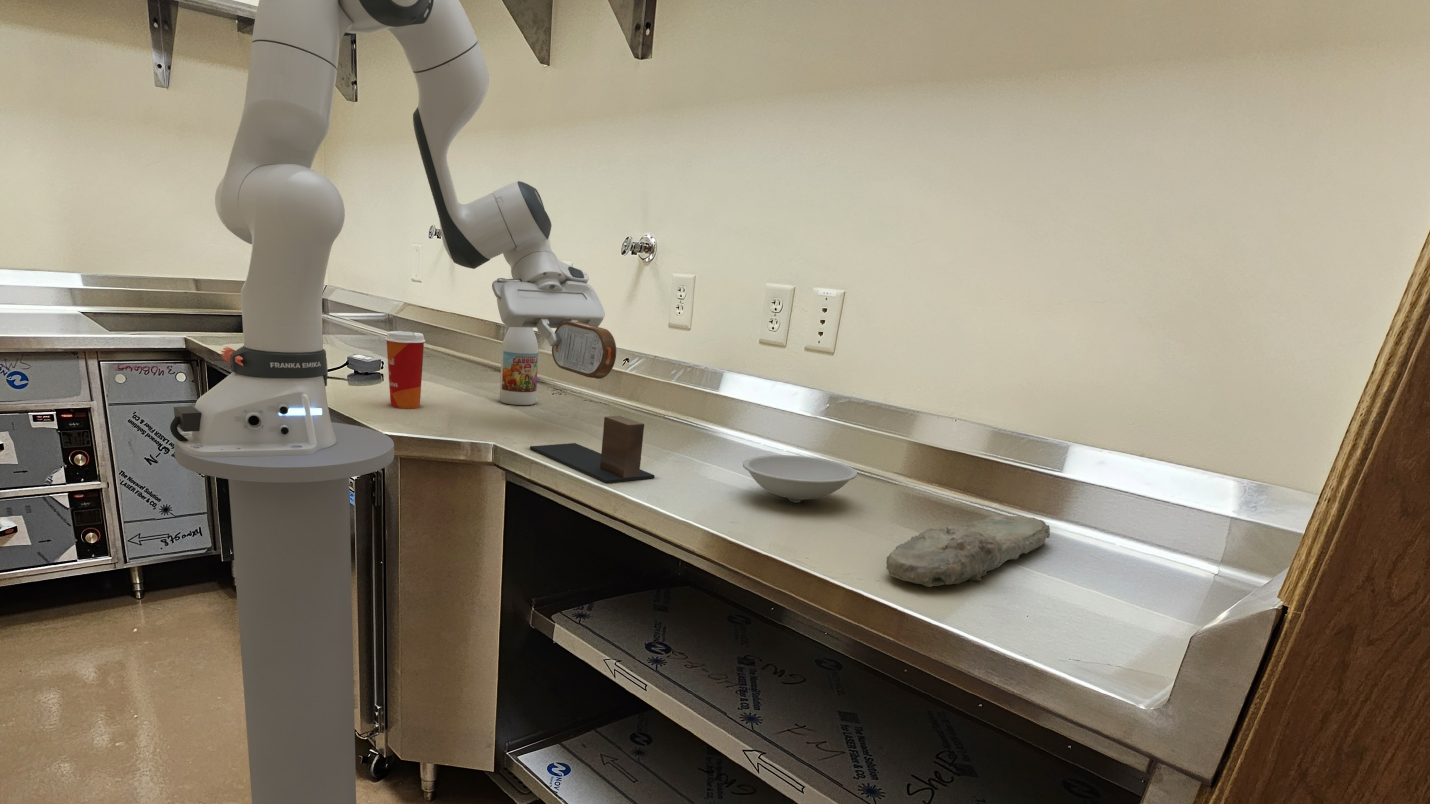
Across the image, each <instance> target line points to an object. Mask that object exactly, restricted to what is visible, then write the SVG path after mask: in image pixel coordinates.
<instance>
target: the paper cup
mask: <svg viewBox="0 0 1430 804" xmlns="http://www.w3.org/2000/svg"><path fill="white" fill-rule="evenodd" d="M384 340H385V341H386V355H387V373H388V389H389V399H390V400H389V401H390V406H391V407H392V408H397V409H409V410H410V409H417V408H419V407H420V405H421V395H422V394H421V392H422V379H423V366H424V365H423V364H424V363H423V362H424V350H425V349H424V348H425V347H424V346H425V343H426V339H425V337H424V334H423V333H421V332H413V331H404V330H393V331H387V332H386V337H384Z"/></svg>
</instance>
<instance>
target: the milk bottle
mask: <svg viewBox="0 0 1430 804" xmlns="http://www.w3.org/2000/svg"><path fill="white" fill-rule="evenodd" d="M500 355H501V356H500V357H501V358H500V377H499V401H500V402H501V403H503V404H506V405H507V404H508V405H514V406H531V405H534V404H535V403H536V401H537V389H538V388H537V386H538V368H539V367H538V366H539V343H538V339H537V336H536V333H535V330H534V328H529V327H508V329H507V331H506V333H505V335H504V337H503V341H502V344H501V354H500Z"/></svg>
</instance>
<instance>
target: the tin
mask: <svg viewBox="0 0 1430 804" xmlns="http://www.w3.org/2000/svg"><path fill="white" fill-rule="evenodd" d="M554 333H559V337H560V338H561V343H560V344H559V345H558V346H551V355H552V359H553V361H554V363H555V365H556V366H557V367H558V368H560V370H561V369H562V370H564V371H567V372H570V373H574V374H577V375H580V376H582V377H586V378H591V379H597V380H600V379H604V378H605V377H607V376H608V375H610V373H611V371H612V370H613V369H614V368H613V367H614V366H615V364H616V360H617V344H616V340H615V337H614V336H613V334H612V333H611V331H610V330H609V329H607V328H604V327H600V326H598V327H596V326H592V325H589V324H585V323H581V322H570V321H567V322H563V323H561V324H560V325H559V326H558V327H557V328H555V330H554Z"/></svg>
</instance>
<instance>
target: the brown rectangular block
mask: <svg viewBox="0 0 1430 804" xmlns="http://www.w3.org/2000/svg"><path fill="white" fill-rule="evenodd" d="M644 429H645V423H643V422H639V421H636V420H634V419H630V418H628V417H625V416H622V415H613V416H611V415H609V416H604V418H603V429H602V441H601V451H600V453H601V464H600V469H603V470H605V471H607V472H610V473H612V474H615V475H617V476H619V477H622V478H631V477H639V472H640V469H641V461H642V453H643V452H642V450H643V441H644V432H645V430H644Z"/></svg>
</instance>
